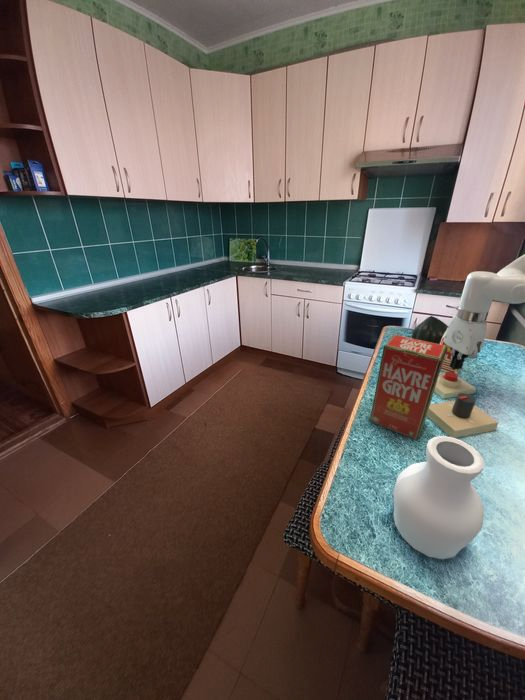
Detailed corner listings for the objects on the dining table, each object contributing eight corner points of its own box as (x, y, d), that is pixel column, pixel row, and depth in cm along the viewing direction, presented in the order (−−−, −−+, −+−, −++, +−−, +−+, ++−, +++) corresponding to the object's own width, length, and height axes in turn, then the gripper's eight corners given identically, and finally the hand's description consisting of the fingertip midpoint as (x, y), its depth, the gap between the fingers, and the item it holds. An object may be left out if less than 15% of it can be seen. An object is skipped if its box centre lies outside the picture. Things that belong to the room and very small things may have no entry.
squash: (456, 350, 110) (458, 314, 114) (413, 346, 116) (416, 311, 119) (446, 359, 123) (448, 326, 127) (407, 355, 128) (410, 324, 132)
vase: (385, 546, 54) (407, 471, 45) (388, 485, 65) (407, 415, 56) (476, 582, 49) (522, 505, 39) (462, 508, 60) (496, 435, 51)
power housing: (450, 377, 104) (453, 368, 102) (474, 393, 95) (478, 383, 93) (421, 382, 102) (424, 372, 100) (443, 399, 93) (446, 388, 91)
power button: (450, 375, 99) (451, 371, 98) (458, 381, 95) (460, 376, 95) (441, 376, 98) (442, 372, 97) (449, 382, 95) (451, 378, 94)
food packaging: (367, 421, 84) (382, 344, 73) (378, 405, 91) (393, 332, 79) (417, 441, 77) (442, 359, 65) (425, 422, 83) (449, 344, 72)
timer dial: (461, 407, 84) (467, 391, 82) (473, 417, 80) (480, 400, 78) (448, 409, 84) (453, 393, 81) (460, 419, 80) (466, 402, 77)
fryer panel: (462, 406, 89) (465, 398, 88) (495, 430, 80) (499, 421, 78) (423, 413, 87) (425, 405, 85) (451, 439, 77) (455, 430, 76)
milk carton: (456, 375, 105) (473, 324, 96) (428, 367, 110) (442, 318, 101) (461, 366, 111) (478, 317, 102) (435, 358, 116) (449, 311, 107)
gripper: (441, 308, 92) (428, 358, 100) (483, 325, 79) (464, 381, 87) (461, 305, 93) (447, 356, 102) (506, 322, 80) (485, 378, 89)
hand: (455, 367), depth 94 cm, fingers closed
